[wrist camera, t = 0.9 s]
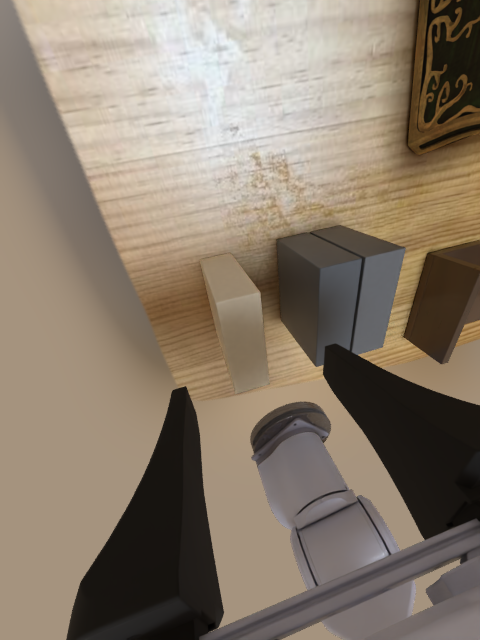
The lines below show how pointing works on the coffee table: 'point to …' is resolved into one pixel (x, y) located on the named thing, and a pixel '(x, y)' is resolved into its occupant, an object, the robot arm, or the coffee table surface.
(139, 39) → the coffee table surface
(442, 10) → the decorative box
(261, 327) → the cream book
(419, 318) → the book rack
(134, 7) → the coffee table surface
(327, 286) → the grey books
